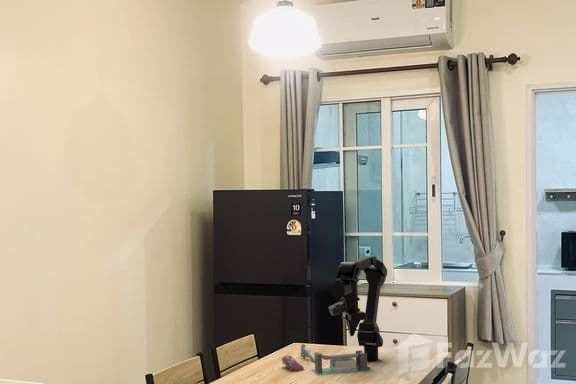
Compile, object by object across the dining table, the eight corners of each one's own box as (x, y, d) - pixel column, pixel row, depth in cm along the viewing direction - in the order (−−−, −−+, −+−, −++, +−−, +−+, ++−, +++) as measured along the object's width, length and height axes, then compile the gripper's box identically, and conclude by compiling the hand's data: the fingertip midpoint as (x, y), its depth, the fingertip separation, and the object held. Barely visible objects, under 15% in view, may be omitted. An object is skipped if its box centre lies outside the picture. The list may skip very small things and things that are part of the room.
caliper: (300, 358, 282) (300, 343, 282) (303, 357, 282) (302, 342, 282) (320, 368, 263) (320, 351, 263) (323, 367, 263) (322, 351, 263)
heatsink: (329, 368, 258) (329, 357, 258) (349, 366, 260) (349, 356, 260) (336, 373, 250) (335, 362, 250) (356, 371, 252) (356, 360, 252)
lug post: (315, 371, 254) (314, 352, 255) (321, 370, 255) (320, 351, 255) (318, 373, 250) (317, 354, 251) (324, 372, 251) (323, 354, 251)
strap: (322, 359, 255) (322, 354, 255) (361, 356, 259) (361, 351, 259) (324, 360, 252) (324, 356, 252) (364, 357, 255) (364, 353, 256)
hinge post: (353, 366, 260) (353, 350, 260) (363, 365, 261) (362, 350, 261) (359, 370, 253) (359, 354, 253) (369, 369, 254) (369, 353, 254)
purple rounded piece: (285, 371, 264) (277, 356, 263) (295, 365, 266) (287, 350, 265) (296, 377, 255) (287, 361, 254) (305, 370, 257) (297, 354, 256)
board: (310, 371, 257) (310, 369, 257) (364, 366, 262) (364, 364, 262) (317, 377, 247) (317, 375, 247) (373, 371, 253) (373, 370, 253)
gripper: (322, 293, 264) (324, 333, 263) (337, 299, 246) (339, 342, 245) (349, 291, 266) (351, 331, 266) (366, 297, 248) (368, 339, 248)
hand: (351, 336), depth 256 cm, fingers closed
